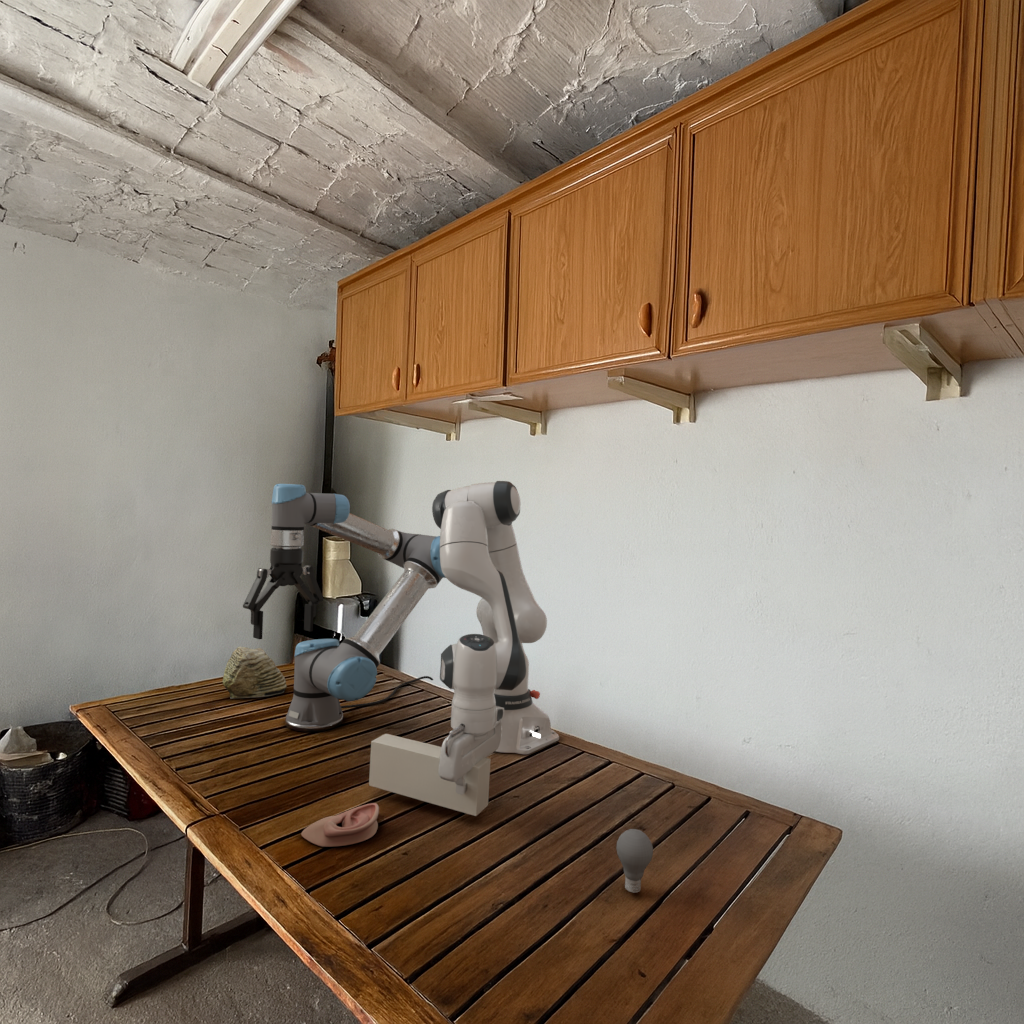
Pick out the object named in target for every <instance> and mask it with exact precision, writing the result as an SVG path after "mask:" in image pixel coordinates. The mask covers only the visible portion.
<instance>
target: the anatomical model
mask: <svg viewBox="0 0 1024 1024" xmlns="http://www.w3.org/2000/svg"><path fill="white" fill-rule="evenodd" d="M379 813H380V806H379V805H378V803H376V802H370V803H367V804H366V803H365V804H363V805H359V806H356V807H353V808H351V809H349V810H346V811H344V812H341V813H339V814H336V815H331V816H330V815H329V816H326V817H323V818H321V819H318V820H317V821H314V822H313V823H311V824H310V825H308V826H307V827H305V828H304V829H303V830H302V831H301V833H300V835H301V837H302V838H304V839H305V840H306V841H308V842H309V843H311V844H314V845H316V846H318V847H322V848H328V847H329V848H330V847H333V848H334V847H342V846H350V845H355V844H358V843H362V842H364V841H366V840H369V839H371V838H372V837H374V835H375V834H376V833H377V832H378V831H377V830H378V829H379V823H378V817H379Z"/></svg>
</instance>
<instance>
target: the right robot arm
mask: <svg viewBox="0 0 1024 1024" xmlns="http://www.w3.org/2000/svg"><path fill="white" fill-rule="evenodd" d="M521 503H522V502H521V496H520V493H519V492H518V489H517V487H516V485H515V484H513V483H512V482H511V481H508V480H496V481H495V482H493V481H492V482H491V481H490V482H478V483H472V484H470V485H466V486H461V487H457V488H454V489H446V490H444V491H441V492H439V493H438V494H436V496H435V498H434V499H433V502H432V506H431V512H432V518H433V521H434V523H435V525H436V527H438V528H439V529H440V532H439V533H440V534H439V536H440V564H441V570H442V572H443V574H444V576H445V577H446V578H445V579H446V580H448V581H449V582H450V583H451V584H452V585H454V586H455V587H457V588H459V589H461V590H464V591H466V592H469V593H472V594H473V595H476V596H478V597H480V600H479V601H478V603H477V606H476V611H475V612H476V617H477V620H478V622H479V624H480V627H481V631H482V633H481V634H480V633H469V634H465V635H462V636H460V637H459V638H458V640H457V643H453V644H449V645H448V646H447V647H446V648H445V649H444V650H443V651H442V653H440V668H439V669H440V670H439V680H440V681H441V682H442V684H444V685H445V686H446V687H447V688H448V689H450V690H453V696H452V699H451V711H450V712H451V713H450V727H451V728H452V729H451V730H450V731H449V732H448V736H446V737H445V738H444V739H443V741H442V744H441V747H442V748H441V754H440V761H439V776H440V778H441V779H443V780H447V781H451V782H455V783H456V793H458V794H461V795H463V794H464V793H465V792H466V791H467V783H465V777H466V773H467V772H469V771H470V770H471V769H472V767H473V766H474V765H475V764H477V763H478V762H479V761H481V760H482V759H483V758H484V757H485V758H489V756H490V755H492V754H493V753H495V752H496V753H505V754H506V753H509V754H519V755H529V754H530V755H531V754H532V753H534V752H536V751H538V750H541V749H543V748H545V747H547V746H549V745H552V744H554V743H556V742H559V740H560V735H559V734H558V733H557V732H556V731H554V730H553V729H552V727H551V726H552V725H551V719H550V717H549V714H547V713H546V712H545V711H544V710H543V709H542V708H540V707H539V706H538V705H536V704H535V703H534V702H533V699H536V700H538V699H539V698H540V696H541V692H540V691H538V690H535V689H532V690H531V689H529V674H530V672H529V671H530V661H529V658H528V655H527V654H526V651H525V648H524V645H523V644H533V643H536V642H538V641H540V640H541V639H542V637H543V636H544V635H545V633H546V631H547V629H548V617H547V615H546V613H545V611H544V610H543V609H542V608H541V606H540V605H539V603H538V602H537V600H536V598H535V596H534V594H533V591H532V589H531V587H530V585H529V583H528V581H527V578H526V575H525V573H524V570H523V566H522V565H523V564H522V561H521V556H520V553H519V552H520V551H519V547H518V543H517V538H516V534H515V530H514V527H513V523H514V522H515V521H516V520H517V519H518V517H519V515H520V513H521V505H522V504H521Z"/></svg>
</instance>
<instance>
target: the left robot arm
mask: <svg viewBox="0 0 1024 1024" xmlns="http://www.w3.org/2000/svg"><path fill="white" fill-rule="evenodd" d="M306 489H307V487H306V486H305V485H304V484H296V483H295V484H294V483H276V484H275V485H274V486H273V489H272V497H271V529H270V546H271V548H270V553H269V554H270V555H269V556H270V557H269V562H270V568H269V569H268V568H262V567H259V568H257V571H256V577H255V579H254V581H253V584H252V585H251V588H250V589H249V592H248V594H247V596H246V598H245V600H244V602H243V604H242V608H243V609H246V610H249V611H250V625H252V626H253V628H252V629H253V630H252V632H253V633H252V637H253V638H254V639H257V640H263V629H264V628H263V627H264V611H263V610H261V609H262V608H263V607H264V605H266V603H267V602H268V600H269V599H270V598H271V596H273V594H274V593H275V591H276V590H277V589H278V588H280V587H286V586H290V587H291V586H294V587H295V588H296V589H297V591H298V592H299V593H300V595H302V597H303V598H304V599H305V601H306V602H307V603H304V616H303V617H304V619H303V630H304V631H307V632H309V633H310V632H313V631H314V618H315V617H316V615H317V614H316V613H317V606H318V605H319V604H320V603H321V602H323V601H324V596H323V593H322V591H321V588H320V586H319V583H318V581H317V579H316V577H315V569H314V566H313V565H307V564H305V565H303V566H302V564H303V562H304V549H303V548H302V547H303V546H304V539H305V538H304V536H305V525H307V526H309V527H313V528H315V529H317V530H320V531H322V532H325V533H328V534H330V535H332V536H335V537H337V538H339V539H342V540H345V541H347V542H349V543H352V544H355V545H357V546H359V547H362V548H364V549H367V550H369V551H371V552H374V553H377V555H378V557H379V558H380V559H382V560H385V561H387V562H389V563H391V564H393V565H396V566H398V567H399V568H402V569H404V571H403V572H402V574H401V575H400V576H399V577H398V579H397V580H396V581H395V582H394V584H393V585H392V587H391V588H390V589H389V590H388V592H386V594H385V596H383V598H382V599H381V601H380V602H379V603H378V604H377V606H376V607H375V608H374V609H373V611H372V612H371V613H370V615H369V616H368V617H367V619H366V620H365V621H364V622H363V624H362V625H361V626H360V628H359V629H358V630H357V631H356V633H355V634H354V636H350V637H345V638H344V639H343V641H341V643H340V641H339V639H337V638H318V639H308V640H304V641H300V642H299V643H297V644H296V646H295V650H294V655H293V657H294V672H293V673H294V674H293V695H292V696H293V697H292V699H291V702H290V704H289V708H288V711H287V713H286V715H285V726H286V728H287V729H289V730H291V731H294V732H295V731H296V732H301V733H316V732H325V731H329V730H332V729H335V728H337V727H339V726H340V725H342V723H343V722H344V713H343V709H352V708H361V707H368V706H373V705H378V704H382V703H385V702H386V701H388V700H389V699H390V698H392V697H393V696H394V695H395V694H396V693H397V691H398V690H399V689H400V688H402V687H403V686H406V685H409V684H412V683H415V682H418V681H420V680H421V681H422V680H424V679H429V680H430V681H434V678H433V677H431V676H428V675H424V676H420V677H418V678H415V679H412V680H409V681H405V682H403V683H400V684H399V685H397V686H395V688H394V690H393V691H392V692H391V694H389V695H388V696H386V697H385V698H383V699H380V700H376V701H371V702H365V703H356V704H347V705H341V702H340V700H343V701H346V702H355V701H358V700H361V699H363V698H364V697H366V696H367V695H368V694H370V692H371V691H372V690H373V688H374V687H375V685H376V682H377V679H378V678H377V676H378V669H377V668H378V667H379V665H380V664H381V660H380V655H381V653H382V652H383V651H384V649H386V647H387V646H388V644H389V642H391V640H392V638H393V637H394V636H395V635H396V633H397V632H398V631H399V629H400V628H401V626H402V625H403V624H404V622H405V621H406V620H407V619H408V618H409V615H410V614H411V613H412V612H413V610H414V609H415V608H416V606H417V605H418V603H419V601H421V599H423V596H424V595H425V594H426V592H427V591H428V590H430V589H435V588H437V586H438V585H439V583H440V582H441V581H442V580H443V579H447V578H446V577H445V576H444V574H443V572H442V570H441V564H440V535H437V536H436V535H428V534H420V533H410V532H405V531H401V530H397V529H396V528H389V529H387V528H385V527H382V526H380V525H377V524H376V523H373V522H371V521H369V520H367V519H365V518H362V517H359V516H357V515H355V514H353V513H350V512H351V510H350V509H351V508H350V507H351V504H350V501H349V499H348V498H347V496H345V495H344V494H339V493H324V492H323V493H320V492H307V490H306ZM302 574H303V575H304V578H305V581H306V583H307V586H308V587H307V586H306V584H305V581H304V580H303V579H302V577H301V576H302ZM269 576H270V579H269V580H268V581H267V579H268V578H269ZM266 581H267V583H266ZM265 583H266V585H265Z"/></svg>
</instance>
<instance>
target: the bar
mask: <svg viewBox="0 0 1024 1024" xmlns="http://www.w3.org/2000/svg"><path fill="white" fill-rule="evenodd" d="M370 743H371V744H370V755H369V757H370V759H369V778H368V786H369V787H373V788H375V789H379V790H383V791H387V792H389V793H393V794H397V795H399V796H400V795H401V796H404V797H408V798H412V799H415V800H418V801H421V802H425V803H429V804H432V805H435V806H439V807H441V808H442V807H443V808H446V809H450V810H453V811H457V812H460V813H464V814H467V815H471V816H474V817H477V816H478V815H479V814H480V813H482V812H483V810H485V809H486V808H487V807H488V806H489V796H490V795H489V794H490V780H491V779H490V777H491V762H492V761H491V760H492V759H491V758H489V757H487V758H485V757H484V758H483V759H482V760H481V761H479V762H478V763H477V764H475V765H474V766H473V767H472V769H471V770H470V771H469V772H467V773H466V777H465V783H467V791H466V792H465V793H464V794H463V795H461V794H458V793H456V783H455V782H451V781H447V780H443V779H441V778H440V776H439V761H440V754H441V748H442V746H439V745H435V744H431V743H427V742H422V741H418V740H414V739H409V738H405V737H401V736H397V735H393V734H389V733H384V734H382V735H380V736H378V737H377V738H374V739H372V740H371V741H370Z"/></svg>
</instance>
